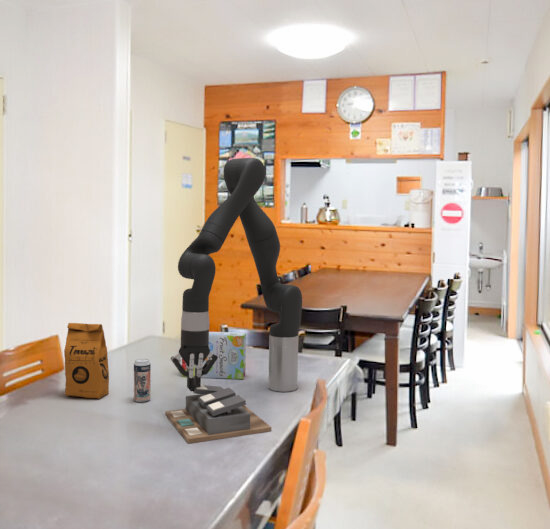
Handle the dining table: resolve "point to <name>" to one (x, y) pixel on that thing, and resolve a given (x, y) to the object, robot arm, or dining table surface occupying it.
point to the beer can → (142, 380)
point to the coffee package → (86, 361)
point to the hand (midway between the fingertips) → (193, 390)
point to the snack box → (226, 355)
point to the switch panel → (205, 437)
